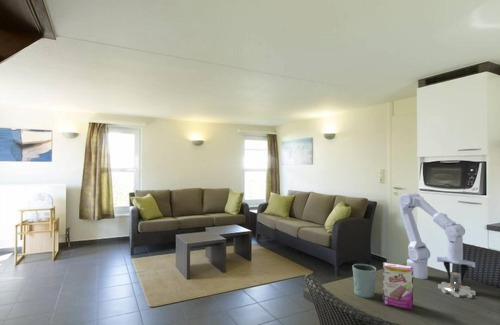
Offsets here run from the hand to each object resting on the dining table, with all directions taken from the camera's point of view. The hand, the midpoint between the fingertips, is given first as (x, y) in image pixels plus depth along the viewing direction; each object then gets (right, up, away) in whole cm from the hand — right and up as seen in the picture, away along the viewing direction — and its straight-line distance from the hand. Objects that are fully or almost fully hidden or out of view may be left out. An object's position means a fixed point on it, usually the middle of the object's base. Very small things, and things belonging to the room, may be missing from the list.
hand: (455, 279), depth 133 cm
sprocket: (-2, -4, -3) cm, 5 cm away
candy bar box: (-35, -5, -15) cm, 38 cm away
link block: (0, -2, 0) cm, 2 cm away
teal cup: (-44, -5, -4) cm, 45 cm away
